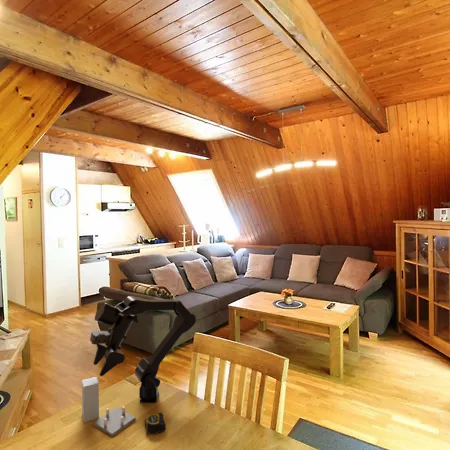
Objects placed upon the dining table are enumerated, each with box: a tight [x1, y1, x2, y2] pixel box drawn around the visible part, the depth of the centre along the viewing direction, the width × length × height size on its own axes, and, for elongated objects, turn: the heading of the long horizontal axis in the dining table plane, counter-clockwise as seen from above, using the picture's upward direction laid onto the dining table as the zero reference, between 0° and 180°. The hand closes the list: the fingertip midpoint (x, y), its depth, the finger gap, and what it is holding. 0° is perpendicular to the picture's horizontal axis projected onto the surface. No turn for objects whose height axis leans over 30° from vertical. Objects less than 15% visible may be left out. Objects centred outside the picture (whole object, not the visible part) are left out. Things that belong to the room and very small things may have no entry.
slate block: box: [81, 376, 100, 423], centre depth 117 cm, size 5×5×13 cm
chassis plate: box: [93, 405, 136, 437], centre depth 114 cm, size 10×10×4 cm
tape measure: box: [144, 412, 167, 435], centre depth 112 cm, size 7×7×4 cm
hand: (97, 370), depth 117 cm, fingers open, 9 cm apart
